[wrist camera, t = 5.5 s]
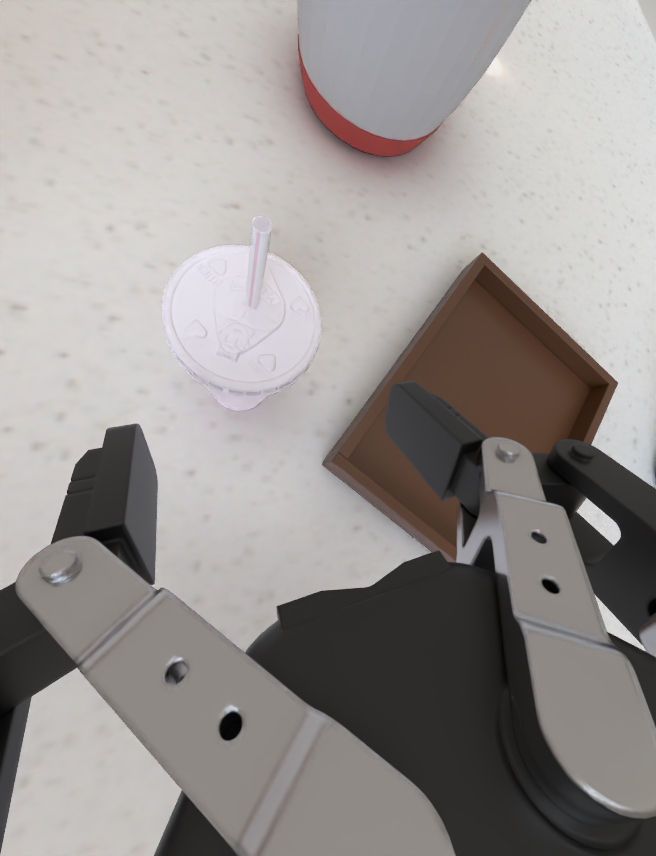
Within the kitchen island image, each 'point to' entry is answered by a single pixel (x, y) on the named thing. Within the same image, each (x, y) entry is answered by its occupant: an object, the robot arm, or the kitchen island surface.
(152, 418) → the kitchen island surface
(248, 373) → the smoothie
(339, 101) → the citrus juicer
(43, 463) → the kitchen island surface
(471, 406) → the tray
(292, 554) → the kitchen island surface
